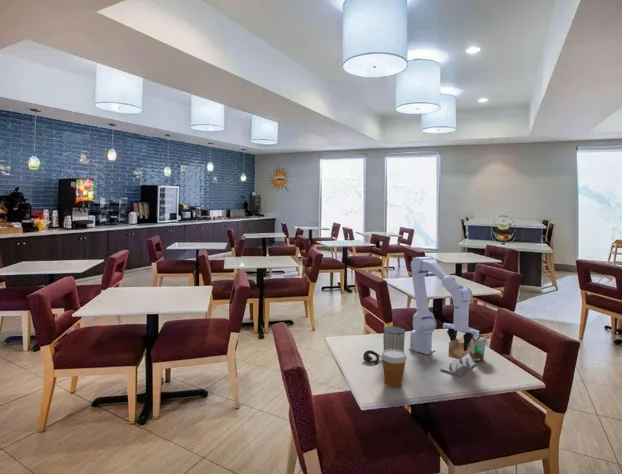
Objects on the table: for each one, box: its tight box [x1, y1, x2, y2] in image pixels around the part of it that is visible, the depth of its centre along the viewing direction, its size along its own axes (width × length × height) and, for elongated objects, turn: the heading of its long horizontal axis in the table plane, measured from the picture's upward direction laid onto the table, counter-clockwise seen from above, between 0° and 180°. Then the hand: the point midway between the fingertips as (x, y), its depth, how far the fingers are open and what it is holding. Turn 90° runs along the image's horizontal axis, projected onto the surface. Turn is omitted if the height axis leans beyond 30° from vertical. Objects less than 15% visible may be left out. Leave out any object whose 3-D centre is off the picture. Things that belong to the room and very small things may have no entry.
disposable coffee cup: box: [380, 349, 408, 389], centre depth 146 cm, size 10×10×12 cm
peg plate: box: [440, 356, 478, 378], centre depth 162 cm, size 8×17×3 cm, turn 136°
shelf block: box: [447, 335, 472, 360], centre depth 162 cm, size 4×12×6 cm, turn 136°
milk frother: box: [362, 325, 406, 364], centre depth 166 cm, size 14×16×15 cm
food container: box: [468, 333, 488, 363], centre depth 172 cm, size 12×6×10 cm, turn 168°
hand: (459, 348), depth 162 cm, fingers closed on shelf block, 4 cm apart
